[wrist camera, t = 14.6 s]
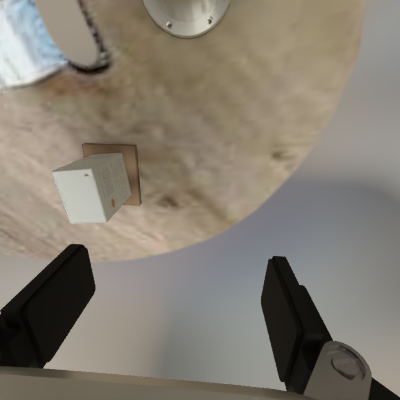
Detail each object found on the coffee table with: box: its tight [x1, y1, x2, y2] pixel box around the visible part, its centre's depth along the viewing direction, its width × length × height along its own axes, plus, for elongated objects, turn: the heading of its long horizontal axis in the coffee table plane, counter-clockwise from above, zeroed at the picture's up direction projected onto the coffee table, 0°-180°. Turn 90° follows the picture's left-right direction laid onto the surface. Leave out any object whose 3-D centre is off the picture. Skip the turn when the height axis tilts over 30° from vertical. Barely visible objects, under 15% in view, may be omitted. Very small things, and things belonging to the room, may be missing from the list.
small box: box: [51, 153, 132, 224], centre depth 33 cm, size 8×6×10 cm
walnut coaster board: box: [82, 143, 141, 206], centre depth 39 cm, size 11×9×1 cm
